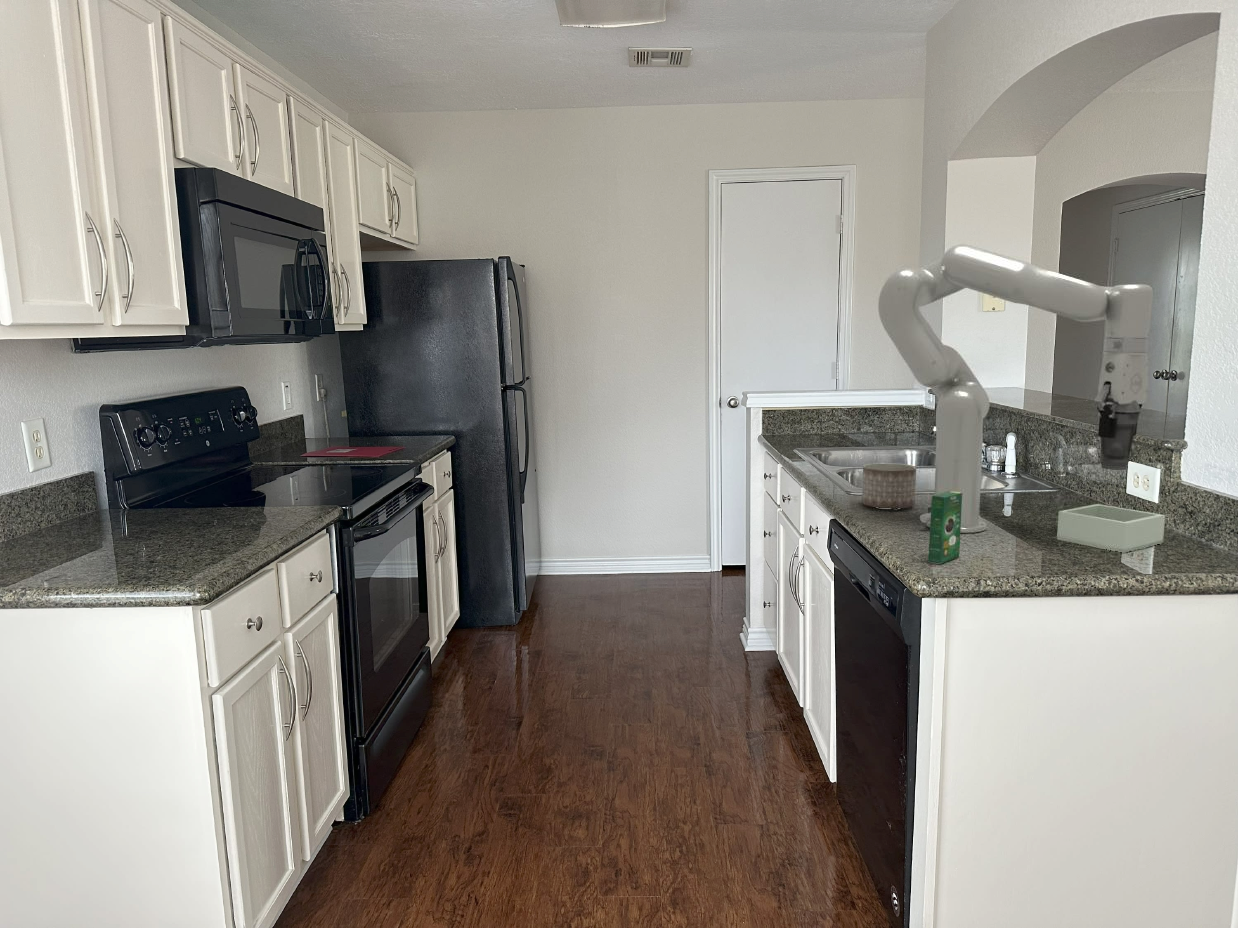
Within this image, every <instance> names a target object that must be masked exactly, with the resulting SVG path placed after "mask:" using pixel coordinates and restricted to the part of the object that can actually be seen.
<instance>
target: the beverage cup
mask: <svg viewBox="0 0 1238 928" xmlns="http://www.w3.org/2000/svg"><path fill="white" fill-rule="evenodd" d="M1107 402H1114V400H1107ZM1109 408H1110V410H1111V408H1112V406H1109ZM1139 410H1141V409H1140V408H1139V404H1138V402H1137V401H1136V400H1133V401H1132V402H1131V403H1129V404H1127V405H1120V404H1118V407H1117V412H1116V415H1115V417H1114V418H1117V424H1116V434H1115V438H1106V437H1100V464H1101V466H1100V467H1101V469H1104V470H1111V471H1112V470H1113V471H1114V470H1115V471H1126V470H1127V469H1128V464H1129V461H1130V455H1131V451H1132V446H1133V441H1134V437H1135V436H1134V432H1135V426H1136V423H1137V424H1138V422H1139V421H1138V420H1139V416H1140V415H1139V414H1141V411H1139Z"/></svg>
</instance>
